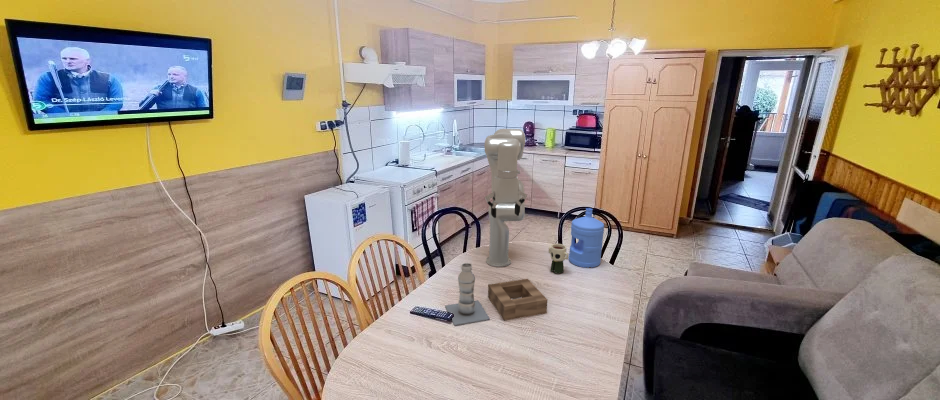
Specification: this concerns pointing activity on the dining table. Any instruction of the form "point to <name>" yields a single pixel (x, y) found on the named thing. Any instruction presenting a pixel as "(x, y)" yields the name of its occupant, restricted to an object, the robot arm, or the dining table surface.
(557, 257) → the character mug
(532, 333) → the dining table surface
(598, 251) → the water jug
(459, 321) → the pad
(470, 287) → the plastic bottle
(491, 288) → the bore block
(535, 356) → the dining table surface
